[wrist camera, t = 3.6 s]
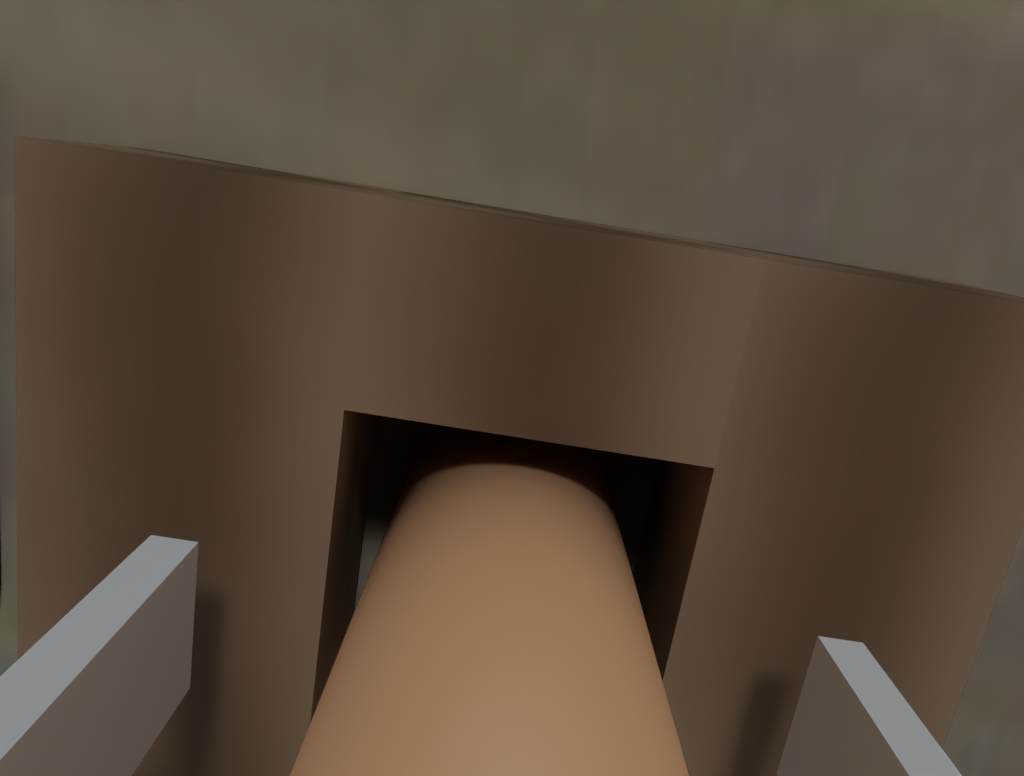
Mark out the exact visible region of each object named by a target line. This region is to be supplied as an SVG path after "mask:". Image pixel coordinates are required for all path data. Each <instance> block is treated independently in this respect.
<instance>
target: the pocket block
mask: <svg viewBox="0 0 1024 776" xmlns="http://www.w3.org/2000/svg"><path fill="white" fill-rule="evenodd" d="M14 186H15V307H16V428H17V549H18V659H20V658H21V657H22V656H23V655H24V654H25V653H26V652H27V651H28V650H29V649H30V648H31V647H32V646H33V645H34V644H36V643H37V642H38V641H39V640H40V639H41V638H42V637H43V636H44V635H45V634H46V633H47V632H48V631H49V630H50V629H51V628H53V627H54V626H55V625H56V624H57V623H58V622H59V621H60V620H61V619H62V618H63V617H64V616H65V615H66V614H67V613H69V612H70V611H71V610H72V609H73V608H74V607H75V606H76V605H77V604H78V603H79V602H80V601H81V600H82V599H83V598H84V597H86V596H87V595H88V594H89V593H90V592H91V591H92V590H93V589H94V588H95V587H96V586H97V585H98V584H99V583H100V582H102V581H103V580H104V579H105V578H106V577H107V576H108V575H109V574H110V573H111V572H112V571H113V570H114V569H115V568H116V567H117V566H119V565H120V564H121V563H122V562H123V561H124V560H125V559H126V558H127V557H128V556H129V555H130V554H131V553H132V552H133V551H135V550H136V549H137V548H138V547H139V546H140V545H141V544H142V543H143V542H144V541H145V540H146V539H147V538H148V537H149V536H150V535H155V536H162V537H168V538H175V539H181V540H188V541H195V542H199V543H198V560H197V577H196V594H195V611H194V628H193V645H192V662H191V678H190V689H189V690H188V692H187V693H186V695H185V696H184V698H183V699H182V701H181V702H180V704H179V705H178V707H177V708H176V710H175V711H174V713H173V714H172V716H171V717H170V719H169V720H168V722H167V723H166V725H165V726H164V728H163V729H162V731H161V732H160V734H159V735H158V737H157V738H156V740H155V741H154V743H153V744H152V746H151V747H150V749H149V750H148V752H147V753H146V755H145V756H144V758H143V759H142V761H141V762H140V764H139V765H138V767H137V768H136V770H135V771H134V773H133V774H132V776H290V774H291V771H292V769H293V766H294V764H295V761H296V759H297V756H298V753H299V751H300V748H301V746H302V743H303V741H304V738H305V736H306V733H307V731H308V728H309V726H310V723H311V721H312V718H313V715H314V713H315V710H316V708H317V705H318V703H319V700H320V698H321V695H322V693H323V690H324V688H325V685H326V683H327V680H328V677H329V675H330V672H331V670H332V667H333V665H334V662H335V660H336V657H337V655H338V652H339V650H340V647H341V645H342V642H343V640H344V637H345V634H346V632H347V629H348V627H349V624H350V622H351V619H352V617H353V614H354V608H355V600H356V591H357V583H358V575H359V566H360V558H361V550H362V541H363V533H364V525H365V516H366V508H367V500H368V491H369V483H370V475H371V466H372V458H373V450H374V441H375V433H376V425H377V416H378V415H379V416H385V417H392V418H398V419H404V420H411V421H417V422H424V423H430V424H436V425H443V426H449V427H455V428H462V429H468V430H475V431H481V432H487V433H494V434H500V435H506V436H513V437H519V438H526V439H532V440H538V441H545V442H551V443H557V444H564V445H570V446H577V447H583V448H589V449H596V450H602V451H608V452H615V453H621V454H628V455H634V456H640V457H647V458H653V459H659V460H660V461H659V465H658V470H657V474H656V479H655V483H654V488H653V492H652V497H651V501H650V505H649V510H648V514H647V519H646V523H645V528H644V532H643V537H642V541H641V546H640V550H639V555H638V559H637V564H636V568H635V573H634V577H633V578H634V582H635V586H636V589H637V593H638V596H639V600H640V603H641V607H642V610H643V614H644V617H645V621H646V625H647V628H648V632H649V635H650V639H651V642H652V646H653V649H654V653H655V657H656V660H657V664H658V667H659V671H660V674H661V678H662V681H663V685H664V689H665V692H666V696H667V699H668V703H669V706H670V710H671V713H672V717H673V720H674V724H675V728H676V731H677V735H678V738H679V742H680V745H681V749H682V752H683V756H684V760H685V763H686V767H687V770H688V774H689V776H777V771H778V767H779V764H780V761H781V757H782V754H783V751H784V747H785V744H786V741H787V737H788V734H789V731H790V727H791V724H792V720H793V717H794V714H795V710H796V707H797V704H798V700H799V697H800V694H801V690H802V687H803V684H804V680H805V677H806V674H807V670H808V667H809V664H810V660H811V657H812V654H813V650H814V647H815V644H816V640H817V637H818V636H822V637H828V638H835V639H842V640H848V641H855V642H861V643H864V645H865V646H866V647H867V649H868V650H869V651H870V653H871V654H872V655H873V657H874V658H875V659H876V661H877V662H878V663H879V665H880V666H881V668H882V669H883V670H884V672H885V673H886V674H887V676H888V677H889V678H890V680H891V681H892V682H893V684H894V685H895V686H896V688H897V689H898V690H899V692H900V693H901V694H902V696H903V697H904V698H905V700H906V701H907V703H908V704H909V705H910V707H911V708H912V709H913V711H914V712H915V713H916V715H917V716H918V717H919V719H920V720H921V721H922V723H923V724H924V725H925V727H926V728H927V729H928V731H929V732H930V733H931V735H932V736H933V738H934V739H935V740H936V742H937V743H938V744H939V746H940V747H941V748H942V749H943V746H944V743H945V740H946V738H947V735H948V732H949V729H950V727H951V724H952V721H953V718H954V716H955V713H956V710H957V707H958V705H959V702H960V699H961V696H962V694H963V691H964V688H965V685H966V683H967V680H968V677H969V674H970V672H971V669H972V666H973V663H974V661H975V658H976V655H977V652H978V650H979V647H980V644H981V641H982V639H983V636H984V633H985V630H986V628H987V625H988V622H989V619H990V617H991V614H992V611H993V608H994V606H995V603H996V600H997V597H998V595H999V592H1000V589H1001V586H1002V584H1003V581H1004V578H1005V575H1006V572H1007V570H1008V567H1009V564H1010V561H1011V559H1012V556H1013V553H1014V550H1015V548H1016V545H1017V542H1018V539H1019V537H1020V534H1021V531H1022V528H1023V526H1024V298H1023V297H1018V296H1014V295H1009V294H1005V293H1001V292H996V291H992V290H987V289H983V288H978V287H974V286H969V285H965V284H959V283H953V282H947V281H940V280H934V279H928V278H922V277H916V276H910V275H904V274H898V273H892V272H886V271H880V270H874V269H868V268H862V267H856V266H850V265H844V264H838V263H831V262H825V261H819V260H813V259H807V258H801V257H795V256H789V255H783V254H777V253H771V252H765V251H759V250H753V249H747V248H741V247H735V246H729V245H722V244H716V243H710V242H704V241H698V240H692V239H686V238H680V237H674V236H668V235H662V234H656V233H650V232H644V231H638V230H632V229H626V228H619V227H613V226H607V225H601V224H595V223H589V222H583V221H577V220H571V219H565V218H559V217H553V216H547V215H541V214H535V213H529V212H523V211H517V210H510V209H504V208H498V207H492V206H486V205H480V204H474V203H468V202H462V201H456V200H450V199H444V198H438V197H432V196H426V195H420V194H414V193H408V192H401V191H395V190H389V189H383V188H377V187H371V186H365V185H359V184H353V183H347V182H341V181H335V180H329V179H323V178H317V177H311V176H305V175H299V174H292V173H286V172H280V171H274V170H268V169H262V168H256V167H250V166H244V165H238V164H232V163H226V162H220V161H214V160H208V159H202V158H196V157H189V156H183V155H177V154H171V153H165V152H159V151H153V150H147V149H141V148H134V147H124V146H113V145H103V144H93V143H82V142H72V141H62V140H51V139H41V138H30V137H20V136H14Z"/></svg>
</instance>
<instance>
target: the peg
mask: <svg viewBox="0 0 1024 776" xmlns="http://www.w3.org/2000/svg"><path fill="white" fill-rule="evenodd" d="M290 776H689V774H688V770H687V767H686V763H685V760H684V756H683V752H682V749H681V745H680V742H679V738H678V735H677V731H676V728H675V724H674V720H673V717H672V713H671V710H670V706H669V703H668V699H667V696H666V692H665V689H664V685H663V681H662V678H661V674H660V671H659V667H658V664H657V660H656V657H655V653H654V649H653V646H652V642H651V639H650V635H649V632H648V628H647V625H646V621H645V617H644V614H643V610H642V607H641V603H640V600H639V596H638V593H637V589H636V586H635V582H634V578H633V575H632V571H631V568H630V564H629V561H628V557H627V554H626V550H625V546H624V543H623V539H622V536H621V532H620V529H619V525H618V522H617V518H616V515H615V511H614V507H613V504H612V500H611V497H610V493H609V490H608V486H607V483H606V480H605V478H604V475H603V473H602V471H601V469H600V467H599V466H598V464H597V462H596V461H595V459H594V458H593V456H592V455H591V454H590V453H589V452H588V450H587V449H586V448H583V447H577V446H570V445H564V444H557V443H551V442H545V441H538V440H532V439H526V438H519V437H513V436H506V435H500V434H494V433H487V432H481V431H475V430H468V429H462V428H455V427H453V428H451V429H449V430H448V431H446V432H444V433H443V434H441V435H440V436H439V437H438V438H436V439H435V440H434V441H433V442H431V444H430V445H429V446H428V447H427V448H426V449H425V450H424V451H423V452H422V453H421V455H420V456H419V458H418V459H417V460H416V462H415V463H414V465H413V467H412V469H411V471H410V473H409V475H408V477H407V480H406V482H405V485H404V488H403V490H402V493H401V495H400V498H399V500H398V503H397V505H396V508H395V510H394V513H393V515H392V518H391V520H390V523H389V526H388V528H387V531H386V533H385V536H384V538H383V541H382V543H381V546H380V548H379V551H378V553H377V556H376V558H375V561H374V564H373V566H372V569H371V571H370V574H369V576H368V579H367V581H366V584H365V586H364V589H363V591H362V594H361V596H360V599H359V602H358V604H357V607H356V609H355V612H354V614H353V617H352V619H351V622H350V624H349V627H348V629H347V632H346V634H345V637H344V640H343V642H342V645H341V647H340V650H339V652H338V655H337V657H336V660H335V662H334V665H333V667H332V670H331V672H330V675H329V677H328V680H327V683H326V685H325V688H324V690H323V693H322V695H321V698H320V700H319V703H318V705H317V708H316V710H315V713H314V715H313V718H312V721H311V723H310V726H309V728H308V731H307V733H306V736H305V738H304V741H303V743H302V746H301V748H300V751H299V753H298V756H297V759H296V761H295V764H294V766H293V769H292V771H291V774H290Z"/></svg>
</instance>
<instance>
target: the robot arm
mask: <svg viewBox="0 0 1024 776" xmlns="http://www.w3.org/2000/svg"><path fill="white" fill-rule="evenodd" d="M198 543H199V542H195V541H188V540H181V539H175V538H168V537H162V536H155V535H150V536H149V537H148V538H147V539H146V540H145V541H144V542H143V543H142V544H141V545H140V546H139V547H138V548H137V549H136V550H135V551H133V552H132V553H131V554H130V555H129V556H128V557H127V558H126V559H125V560H124V561H123V562H122V563H121V564H120V565H119V566H117V567H116V568H115V569H114V570H113V571H112V572H111V573H110V574H109V575H108V576H107V577H106V578H105V579H104V580H103V581H102V582H100V583H99V584H98V585H97V586H96V587H95V588H94V589H93V590H92V591H91V592H90V593H89V594H88V595H87V596H86V597H84V598H83V599H82V600H81V601H80V602H79V603H78V604H77V605H76V606H75V607H74V608H73V609H72V610H71V611H70V612H69V613H67V614H66V615H65V616H64V617H63V618H62V619H61V620H60V621H59V622H58V623H57V624H56V625H55V626H54V627H53V628H51V629H50V630H49V631H48V632H47V633H46V634H45V635H44V636H43V637H42V638H41V639H40V640H39V641H38V642H37V643H36V644H34V645H33V646H32V647H31V648H30V649H29V650H28V651H27V652H26V653H25V654H24V655H23V656H22V657H21V658H20V659H18V660H17V661H16V662H15V663H14V664H13V665H12V666H11V667H10V668H9V669H8V670H7V671H6V672H5V673H4V674H3V675H1V676H0V776H132V774H133V773H134V771H135V770H136V768H137V767H138V765H139V764H140V762H141V761H142V759H143V758H144V756H145V755H146V753H147V752H148V750H149V749H150V747H151V746H152V744H153V743H154V741H155V740H156V738H157V737H158V735H159V734H160V732H161V731H162V729H163V728H164V726H165V725H166V723H167V722H168V720H169V719H170V717H171V716H172V714H173V713H174V711H175V710H176V708H177V707H178V705H179V704H180V702H181V701H182V699H183V698H184V696H185V695H186V693H187V692H188V690H189V689H190V678H191V662H192V645H193V628H194V611H195V594H196V577H197V560H198ZM777 776H962V775H961V774H960V772H959V771H958V770H957V768H956V767H955V766H954V764H953V763H952V762H951V760H950V759H949V758H948V756H947V755H946V754H945V752H944V751H943V750H942V748H941V747H940V746H939V744H938V743H937V742H936V740H935V739H934V738H933V736H932V735H931V733H930V732H929V731H928V729H927V728H926V727H925V725H924V724H923V723H922V721H921V720H920V719H919V717H918V716H917V715H916V713H915V712H914V711H913V709H912V708H911V707H910V705H909V704H908V703H907V701H906V700H905V698H904V697H903V696H902V694H901V693H900V692H899V690H898V689H897V688H896V686H895V685H894V684H893V682H892V681H891V680H890V678H889V677H888V676H887V674H886V673H885V672H884V670H883V669H882V668H881V666H880V665H879V663H878V662H877V661H876V659H875V658H874V657H873V655H872V654H871V653H870V651H869V650H868V649H867V647H866V646H865V645H864V643H861V642H855V641H848V640H842V639H835V638H828V637H822V636H818V637H817V640H816V644H815V647H814V650H813V654H812V657H811V660H810V664H809V667H808V670H807V674H806V677H805V680H804V684H803V687H802V690H801V694H800V697H799V700H798V704H797V707H796V710H795V714H794V717H793V720H792V724H791V727H790V731H789V734H788V737H787V741H786V744H785V747H784V751H783V754H782V757H781V761H780V764H779V767H778V771H777Z"/></svg>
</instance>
